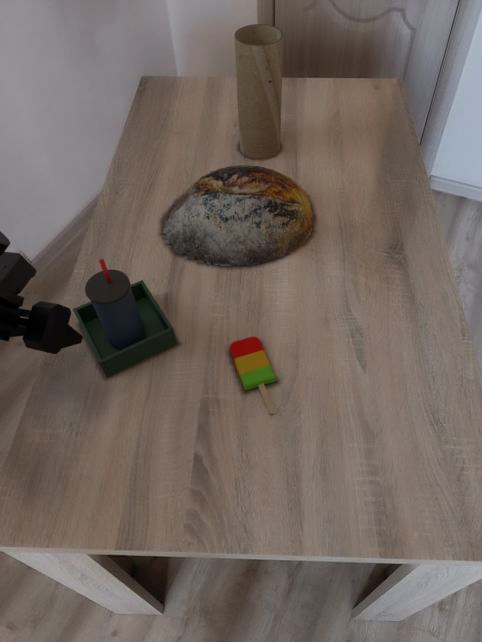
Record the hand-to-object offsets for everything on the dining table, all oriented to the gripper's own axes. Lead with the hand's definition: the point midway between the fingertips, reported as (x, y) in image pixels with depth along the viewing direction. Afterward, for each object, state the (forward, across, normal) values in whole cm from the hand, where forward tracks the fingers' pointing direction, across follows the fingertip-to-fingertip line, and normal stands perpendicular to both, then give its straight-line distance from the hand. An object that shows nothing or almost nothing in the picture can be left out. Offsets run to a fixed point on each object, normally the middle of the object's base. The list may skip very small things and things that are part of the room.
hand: (59, 335), depth 71 cm
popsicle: (+21, -24, -1) cm, 32 cm away
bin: (+15, +1, -4) cm, 16 cm away
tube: (+44, +1, -59) cm, 74 cm away
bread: (+33, -5, -34) cm, 48 cm away
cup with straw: (+14, 0, -3) cm, 15 cm away
